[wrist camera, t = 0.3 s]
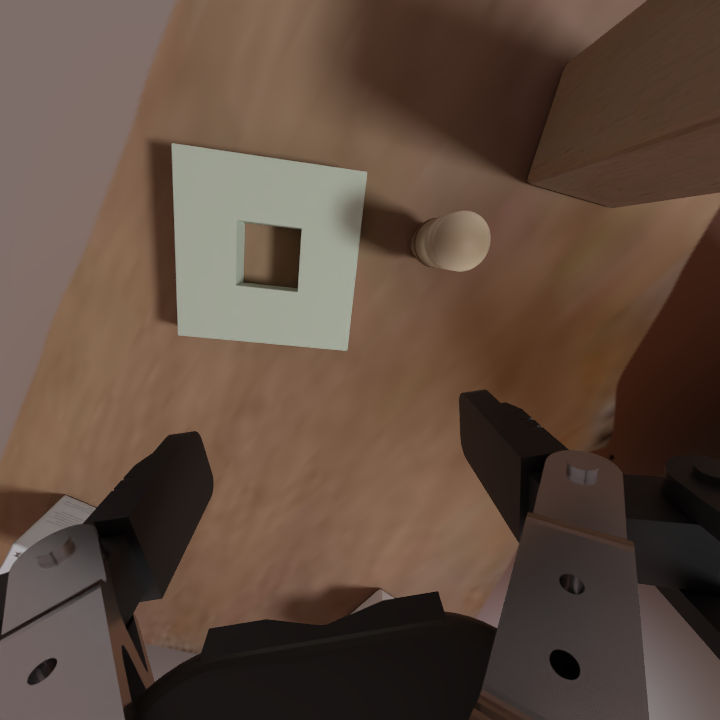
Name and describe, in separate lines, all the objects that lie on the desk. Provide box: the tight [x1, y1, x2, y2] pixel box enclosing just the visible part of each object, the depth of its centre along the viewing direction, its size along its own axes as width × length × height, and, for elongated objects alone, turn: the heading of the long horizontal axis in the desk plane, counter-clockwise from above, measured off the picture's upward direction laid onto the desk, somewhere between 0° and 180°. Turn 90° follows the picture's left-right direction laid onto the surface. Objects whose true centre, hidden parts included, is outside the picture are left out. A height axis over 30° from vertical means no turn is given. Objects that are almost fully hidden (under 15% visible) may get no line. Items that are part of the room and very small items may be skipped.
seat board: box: [172, 143, 367, 351], centre depth 33 cm, size 16×16×3 cm
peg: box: [411, 211, 491, 271], centre depth 30 cm, size 4×4×10 cm
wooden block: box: [527, 0, 720, 208], centre depth 24 cm, size 10×10×20 cm
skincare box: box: [0, 495, 96, 574], centre depth 38 cm, size 6×6×7 cm
